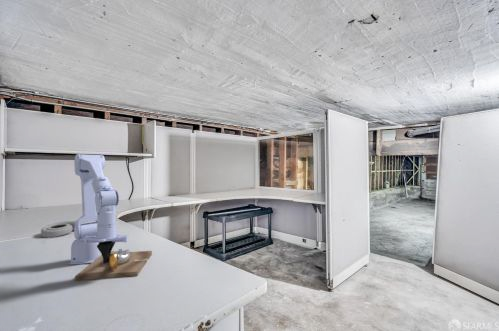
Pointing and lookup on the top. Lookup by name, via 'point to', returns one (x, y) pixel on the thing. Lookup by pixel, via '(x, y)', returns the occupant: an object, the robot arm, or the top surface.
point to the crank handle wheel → (118, 258)
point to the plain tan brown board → (123, 270)
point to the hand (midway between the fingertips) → (106, 262)
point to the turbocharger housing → (58, 229)
